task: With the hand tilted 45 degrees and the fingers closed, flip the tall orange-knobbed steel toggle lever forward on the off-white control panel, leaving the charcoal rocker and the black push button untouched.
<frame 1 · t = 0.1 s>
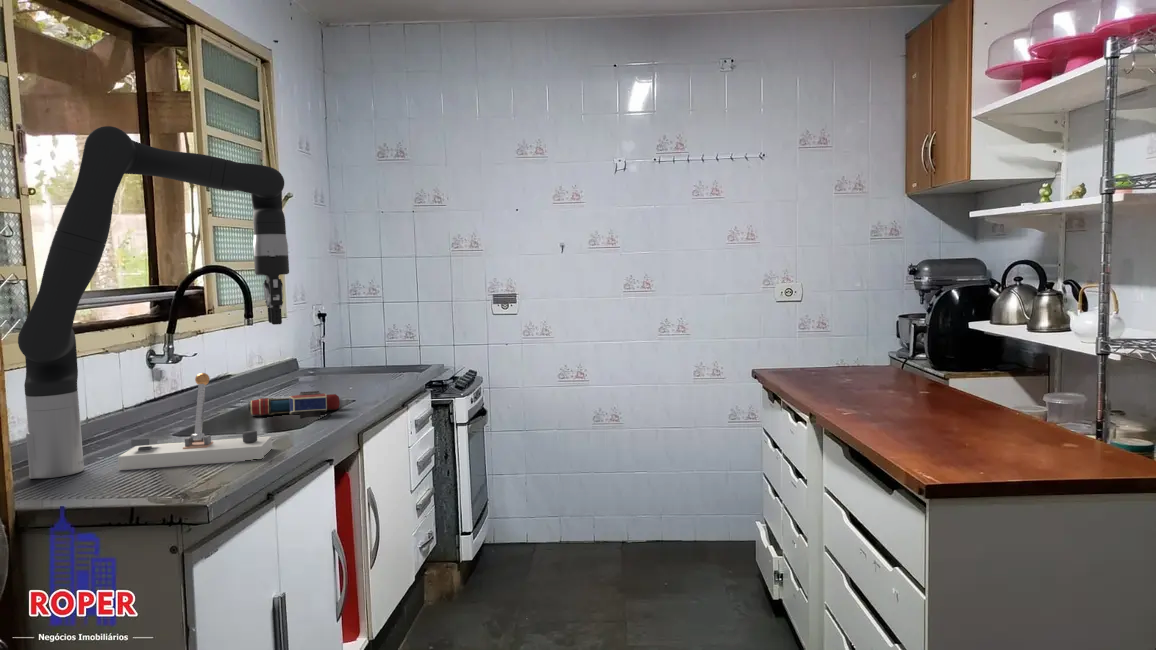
hand: (275, 323, 183), 29 cm above the countertop, tool pointing down, fingers open, 8 cm apart
toggle lever: (200, 407, 177), point 11 cm above the countertop, hinge at 28.0°
rocker: (144, 442, 172), point 5 cm above the countertop, hinge at 10.0°
tool: (295, 418, 226), on the countertop
control panel: (199, 459, 174), on the countertop
push button: (249, 436, 176), point 4 cm above the countertop, slide at 0.0 cm
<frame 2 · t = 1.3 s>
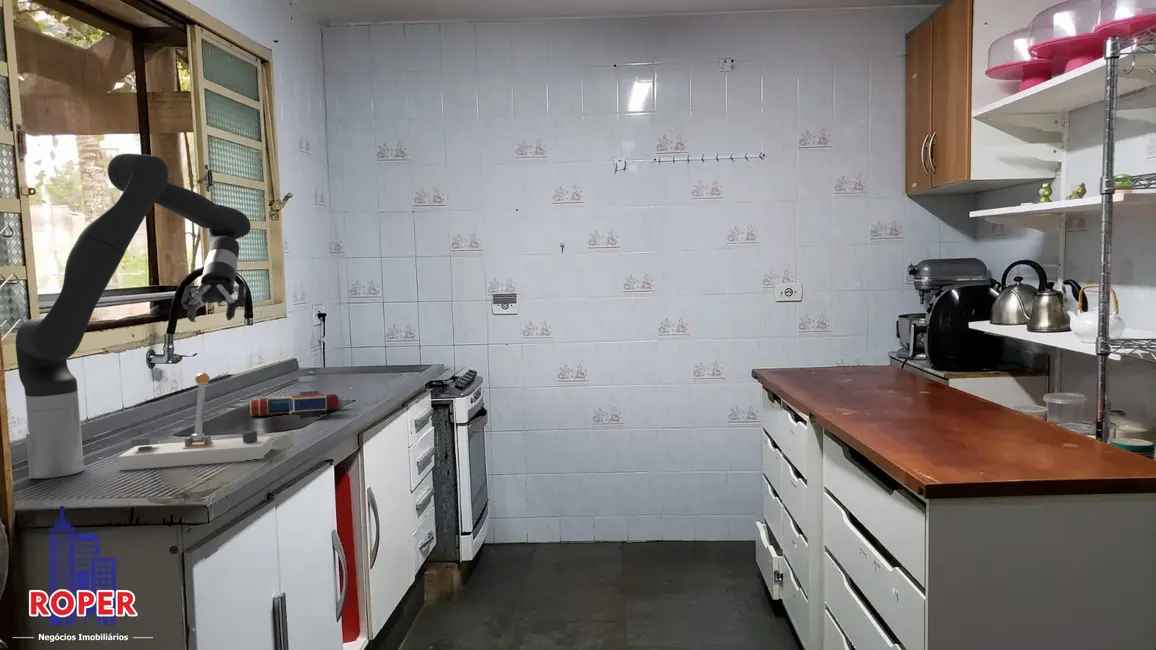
hand: (210, 318, 187), 31 cm above the countertop, tool tilted 45°, fingers open, 8 cm apart
nothing on the countertop moved.
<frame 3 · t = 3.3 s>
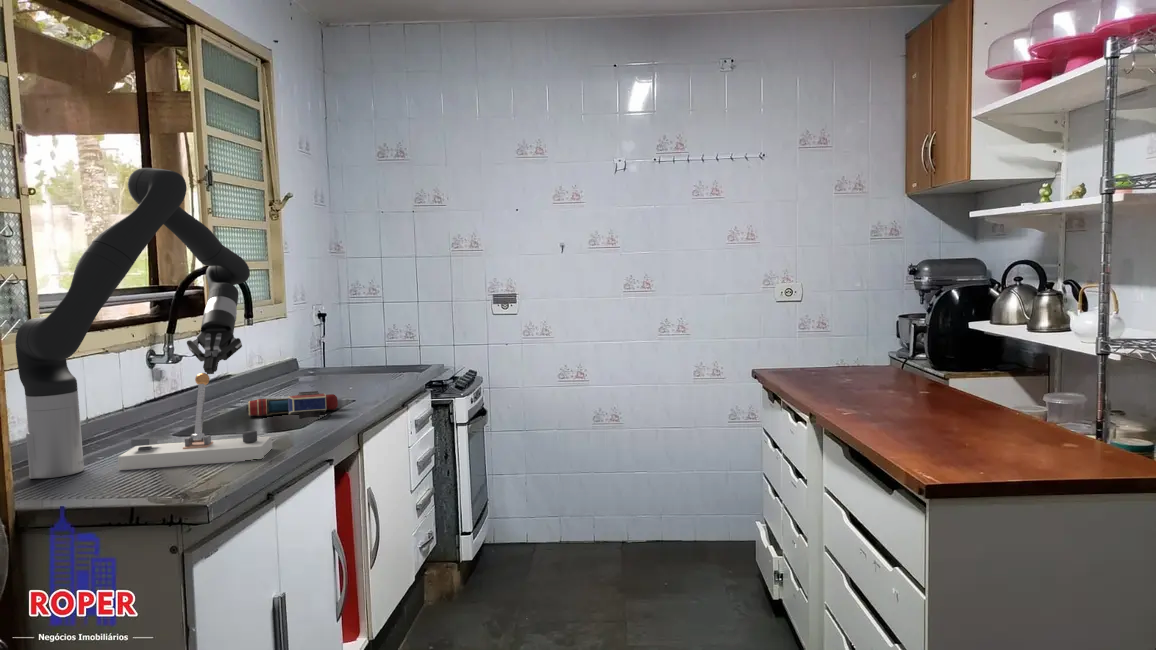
hand: (209, 372, 186), 18 cm above the countertop, tool tilted 45°, fingers closed
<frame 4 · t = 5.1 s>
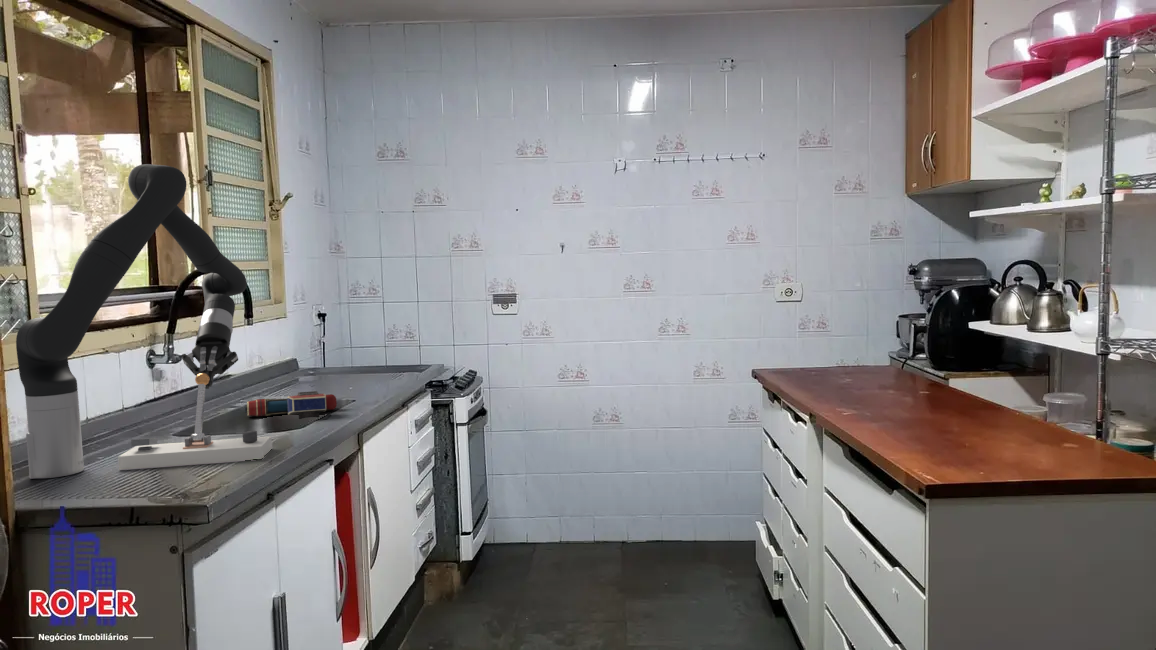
hand: (204, 386, 181), 15 cm above the countertop, tool tilted 45°, fingers closed
toggle lever: (200, 407, 177), point 11 cm above the countertop, hinge at 28.0°, touching gripper
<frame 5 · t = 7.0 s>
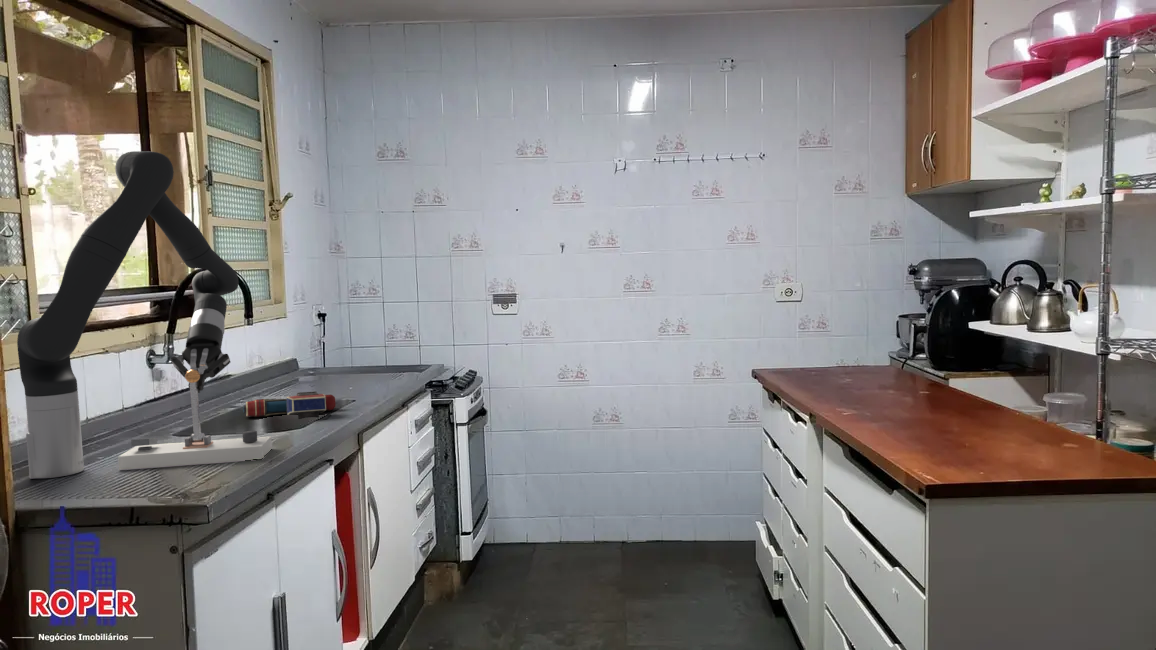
hand: (195, 390, 174), 15 cm above the countertop, tool tilted 45°, fingers closed
toggle lever: (195, 406, 173), point 12 cm above the countertop, hinge at -2.3°, touching gripper
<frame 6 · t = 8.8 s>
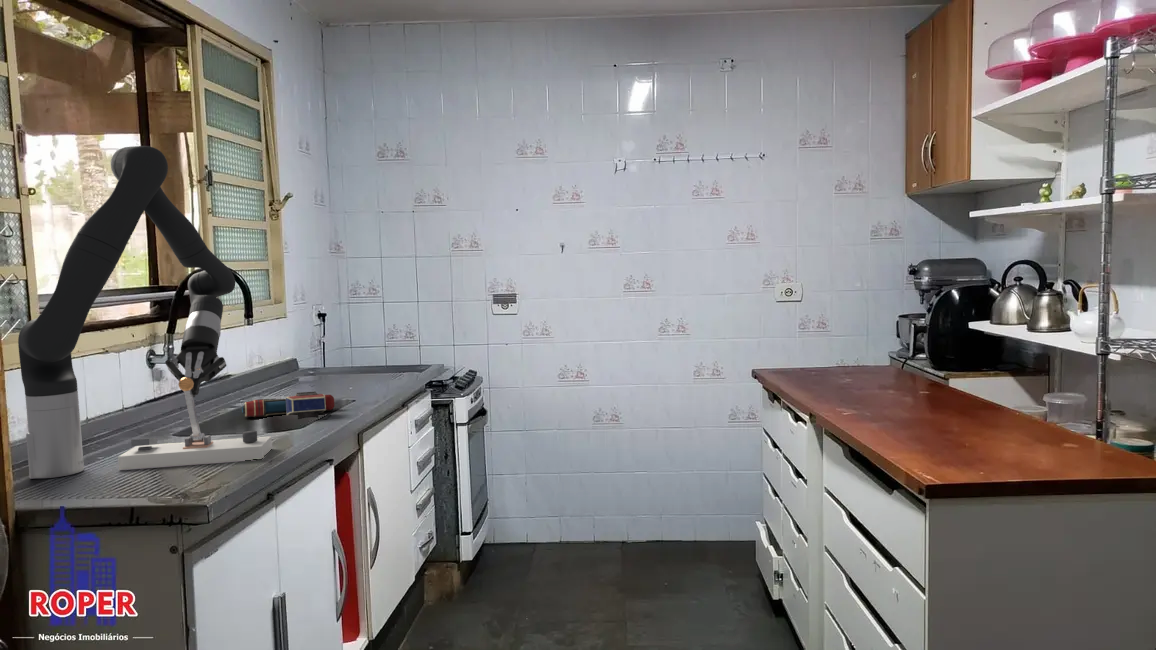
hand: (190, 395, 170), 15 cm above the countertop, tool tilted 45°, fingers closed
toggle lever: (191, 410, 171), point 11 cm above the countertop, hinge at -22.8°, touching gripper
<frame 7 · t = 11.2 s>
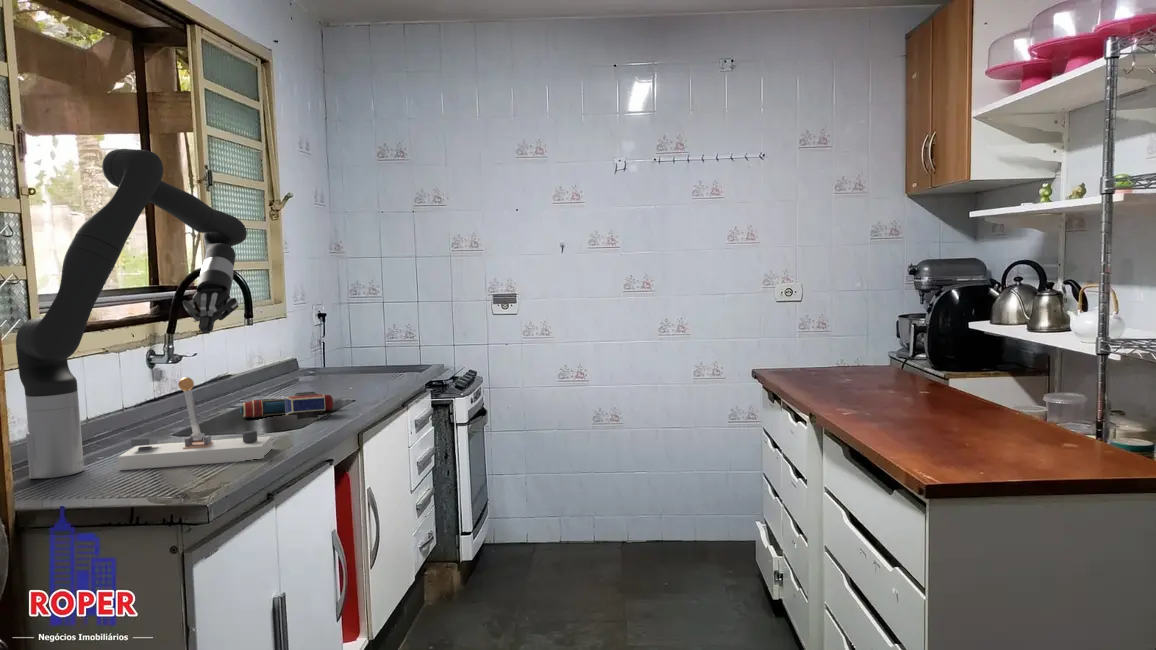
hand: (205, 331, 184), 28 cm above the countertop, tool tilted 45°, fingers closed
toggle lever: (191, 410, 171), point 11 cm above the countertop, hinge at -23.0°
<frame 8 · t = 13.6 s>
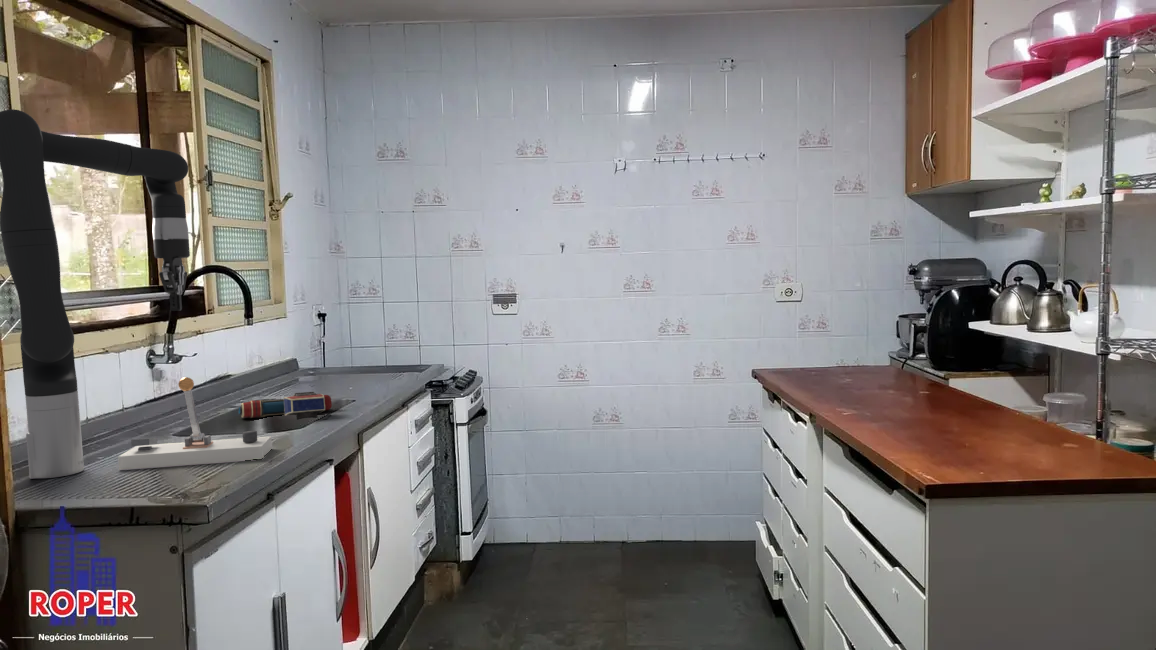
hand: (176, 310, 186), 33 cm above the countertop, tool pointing down, fingers closed
at the end: toggle lever at -23° (first picture: +28°); rocker at +10° (first picture: +10°); push button slide at 0.0 cm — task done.
